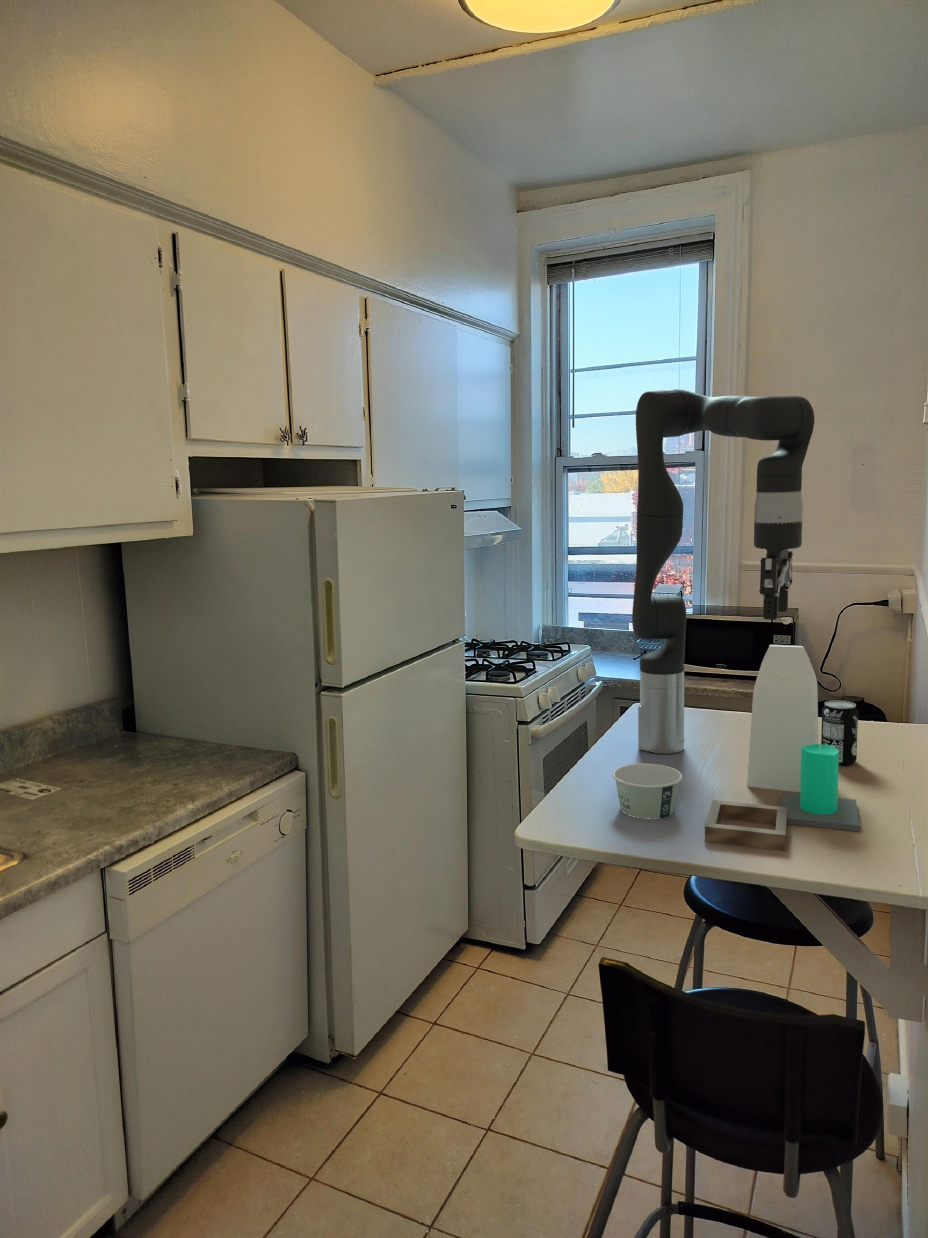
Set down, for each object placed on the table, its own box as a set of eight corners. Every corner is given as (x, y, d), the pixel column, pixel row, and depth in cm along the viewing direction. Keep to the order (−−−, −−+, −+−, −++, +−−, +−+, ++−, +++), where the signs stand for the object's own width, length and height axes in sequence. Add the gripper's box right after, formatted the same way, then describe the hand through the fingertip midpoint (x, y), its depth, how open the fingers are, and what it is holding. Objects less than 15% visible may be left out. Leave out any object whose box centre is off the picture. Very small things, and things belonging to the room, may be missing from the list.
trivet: (780, 823, 140) (780, 817, 140) (782, 798, 151) (782, 792, 151) (859, 831, 136) (859, 825, 136) (855, 805, 147) (855, 799, 147)
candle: (805, 814, 141) (807, 745, 139) (795, 801, 147) (796, 735, 145) (842, 814, 140) (844, 745, 139) (830, 801, 146) (832, 734, 144)
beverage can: (849, 756, 172) (851, 699, 171) (861, 767, 166) (863, 707, 164) (816, 756, 173) (817, 699, 171) (826, 767, 167) (828, 708, 165)
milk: (819, 773, 163) (822, 641, 159) (816, 794, 153) (819, 653, 149) (753, 767, 168) (755, 639, 164) (747, 786, 158) (748, 650, 154)
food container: (599, 804, 152) (599, 769, 151) (654, 793, 156) (654, 759, 155) (638, 828, 141) (638, 790, 140) (696, 814, 146) (697, 778, 145)
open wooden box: (704, 841, 134) (704, 826, 134) (712, 813, 145) (712, 800, 145) (785, 850, 130) (785, 835, 130) (786, 821, 141) (787, 807, 141)
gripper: (793, 522, 132) (791, 623, 135) (809, 516, 144) (806, 609, 147) (744, 522, 136) (743, 621, 139) (763, 516, 148) (761, 607, 151)
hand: (775, 615), depth 143 cm, fingers open, 8 cm apart
